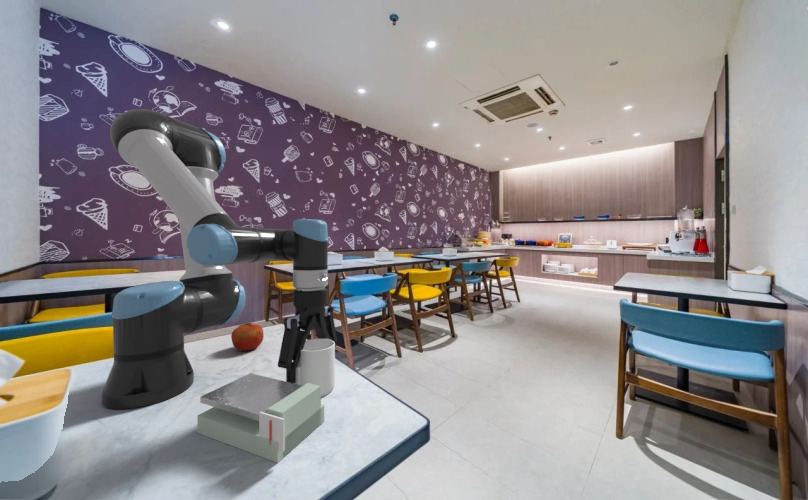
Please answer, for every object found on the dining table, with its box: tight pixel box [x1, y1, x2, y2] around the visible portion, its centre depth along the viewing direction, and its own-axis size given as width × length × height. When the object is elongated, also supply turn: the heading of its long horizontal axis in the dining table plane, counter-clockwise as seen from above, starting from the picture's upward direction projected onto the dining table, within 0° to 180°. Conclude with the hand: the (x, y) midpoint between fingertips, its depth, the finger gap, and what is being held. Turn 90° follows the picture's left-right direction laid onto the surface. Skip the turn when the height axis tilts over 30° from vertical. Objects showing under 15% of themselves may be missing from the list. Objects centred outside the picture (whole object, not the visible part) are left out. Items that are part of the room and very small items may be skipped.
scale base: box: [197, 383, 325, 464], centre depth 51 cm, size 19×11×7 cm, turn 68°
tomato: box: [231, 322, 264, 352], centre depth 90 cm, size 9×9×8 cm
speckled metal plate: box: [199, 373, 302, 421], centre depth 52 cm, size 14×10×3 cm
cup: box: [298, 338, 336, 398], centre depth 66 cm, size 8×12×10 cm
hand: (310, 385), depth 66 cm, fingers open, 10 cm apart
